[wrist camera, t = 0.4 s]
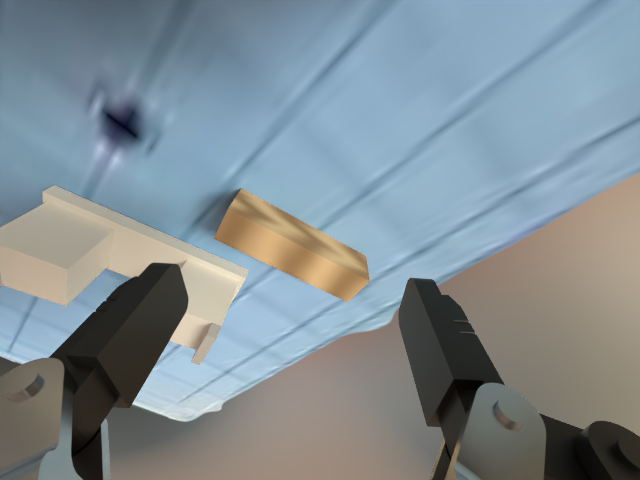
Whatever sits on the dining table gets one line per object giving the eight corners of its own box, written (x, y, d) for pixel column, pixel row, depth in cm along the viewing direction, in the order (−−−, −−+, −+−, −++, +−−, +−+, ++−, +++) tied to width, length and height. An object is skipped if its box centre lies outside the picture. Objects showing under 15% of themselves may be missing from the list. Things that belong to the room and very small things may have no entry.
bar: (228, 214, 30) (213, 238, 26) (242, 187, 28) (228, 208, 24) (346, 274, 34) (347, 302, 31) (365, 254, 32) (369, 281, 29)
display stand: (55, 237, 32) (-32, 297, 25) (54, 185, 28) (-51, 237, 21) (228, 305, 38) (201, 370, 31) (249, 270, 34) (224, 335, 26)
